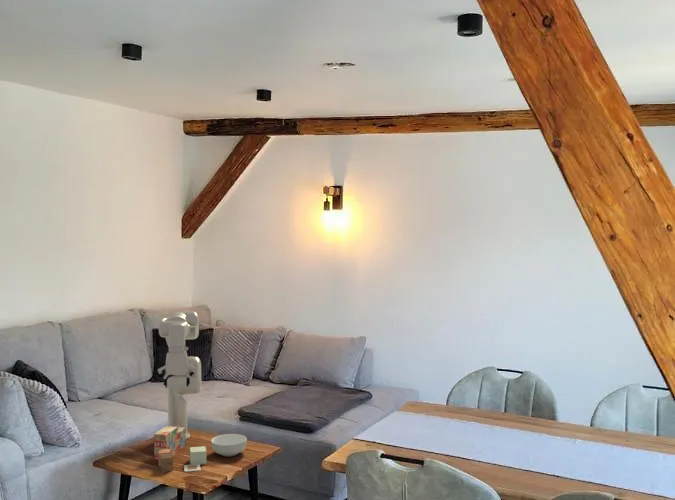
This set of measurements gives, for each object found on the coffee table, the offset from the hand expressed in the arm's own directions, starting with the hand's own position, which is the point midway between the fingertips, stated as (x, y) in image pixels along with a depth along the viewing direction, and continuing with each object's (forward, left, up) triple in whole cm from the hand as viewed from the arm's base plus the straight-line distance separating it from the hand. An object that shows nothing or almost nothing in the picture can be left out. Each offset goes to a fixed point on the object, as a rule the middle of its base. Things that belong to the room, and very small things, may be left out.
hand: (176, 386), depth 307 cm
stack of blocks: (-7, -3, -34) cm, 34 cm away
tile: (+17, +6, -33) cm, 38 cm away
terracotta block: (+8, -6, -33) cm, 35 cm away
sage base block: (+9, +9, -33) cm, 36 cm away
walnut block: (+15, -5, -33) cm, 37 cm away
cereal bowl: (+1, +24, -34) cm, 41 cm away
